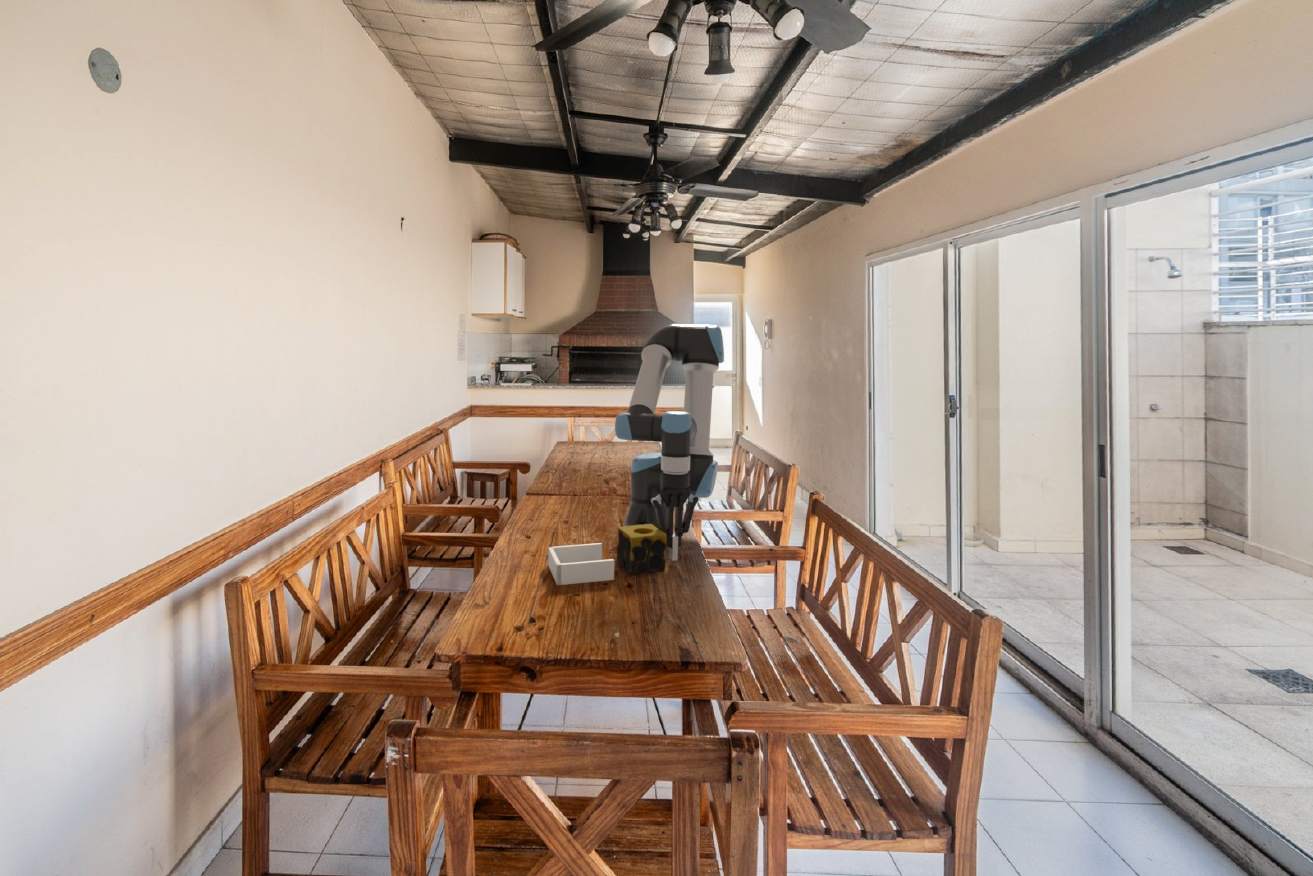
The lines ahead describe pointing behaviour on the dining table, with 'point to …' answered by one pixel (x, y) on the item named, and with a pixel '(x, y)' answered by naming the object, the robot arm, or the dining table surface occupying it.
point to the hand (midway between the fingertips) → (673, 558)
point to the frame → (579, 564)
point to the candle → (641, 549)
